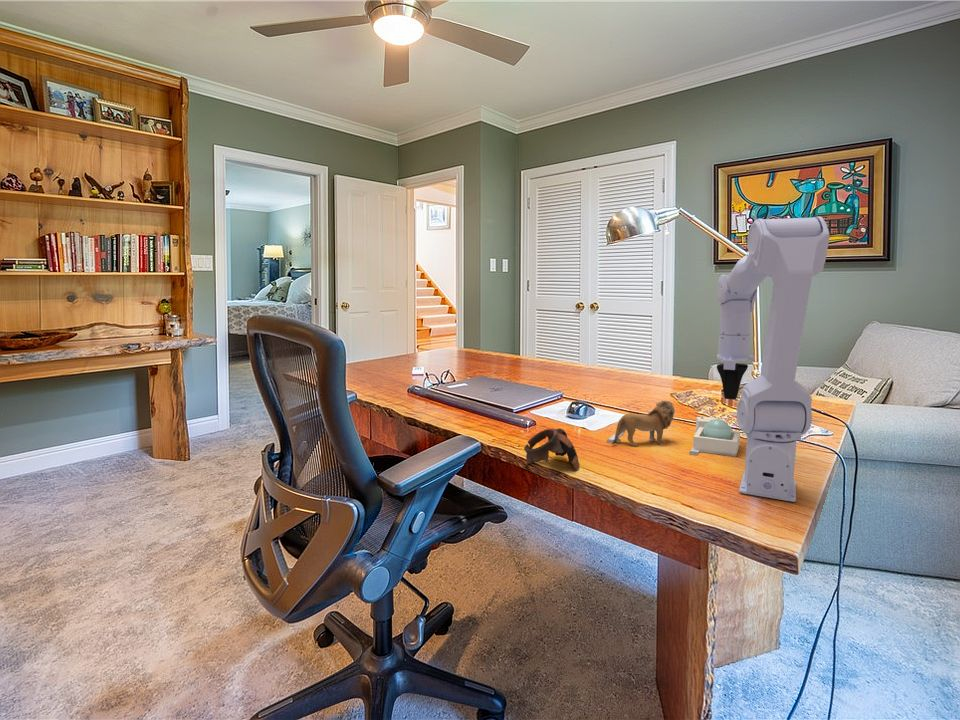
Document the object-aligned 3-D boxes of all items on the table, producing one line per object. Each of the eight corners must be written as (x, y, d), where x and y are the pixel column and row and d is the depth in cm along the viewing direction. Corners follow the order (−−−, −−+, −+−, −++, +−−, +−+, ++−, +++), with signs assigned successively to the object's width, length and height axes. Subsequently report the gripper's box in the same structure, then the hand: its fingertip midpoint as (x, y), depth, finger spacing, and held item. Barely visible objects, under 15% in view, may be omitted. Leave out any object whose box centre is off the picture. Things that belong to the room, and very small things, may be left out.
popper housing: (736, 456, 103) (736, 442, 102) (692, 450, 107) (693, 436, 106) (739, 445, 109) (740, 431, 109) (698, 440, 114) (699, 426, 113)
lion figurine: (664, 436, 117) (665, 397, 116) (679, 443, 112) (681, 402, 111) (605, 442, 113) (606, 402, 112) (618, 450, 108) (619, 408, 107)
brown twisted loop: (580, 480, 94) (557, 443, 92) (535, 494, 98) (513, 459, 96) (588, 444, 104) (568, 411, 102) (547, 458, 108) (528, 426, 107)
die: (717, 439, 114) (718, 421, 113) (697, 438, 115) (698, 420, 114) (714, 434, 118) (715, 416, 117) (695, 433, 119) (696, 415, 118)
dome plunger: (729, 448, 104) (730, 423, 104) (701, 444, 107) (702, 420, 106) (731, 441, 109) (733, 417, 108) (705, 437, 111) (706, 414, 111)
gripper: (754, 338, 99) (749, 408, 101) (757, 331, 111) (754, 393, 113) (713, 337, 102) (710, 404, 104) (721, 330, 115) (718, 390, 117)
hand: (730, 398), depth 109 cm, fingers closed
